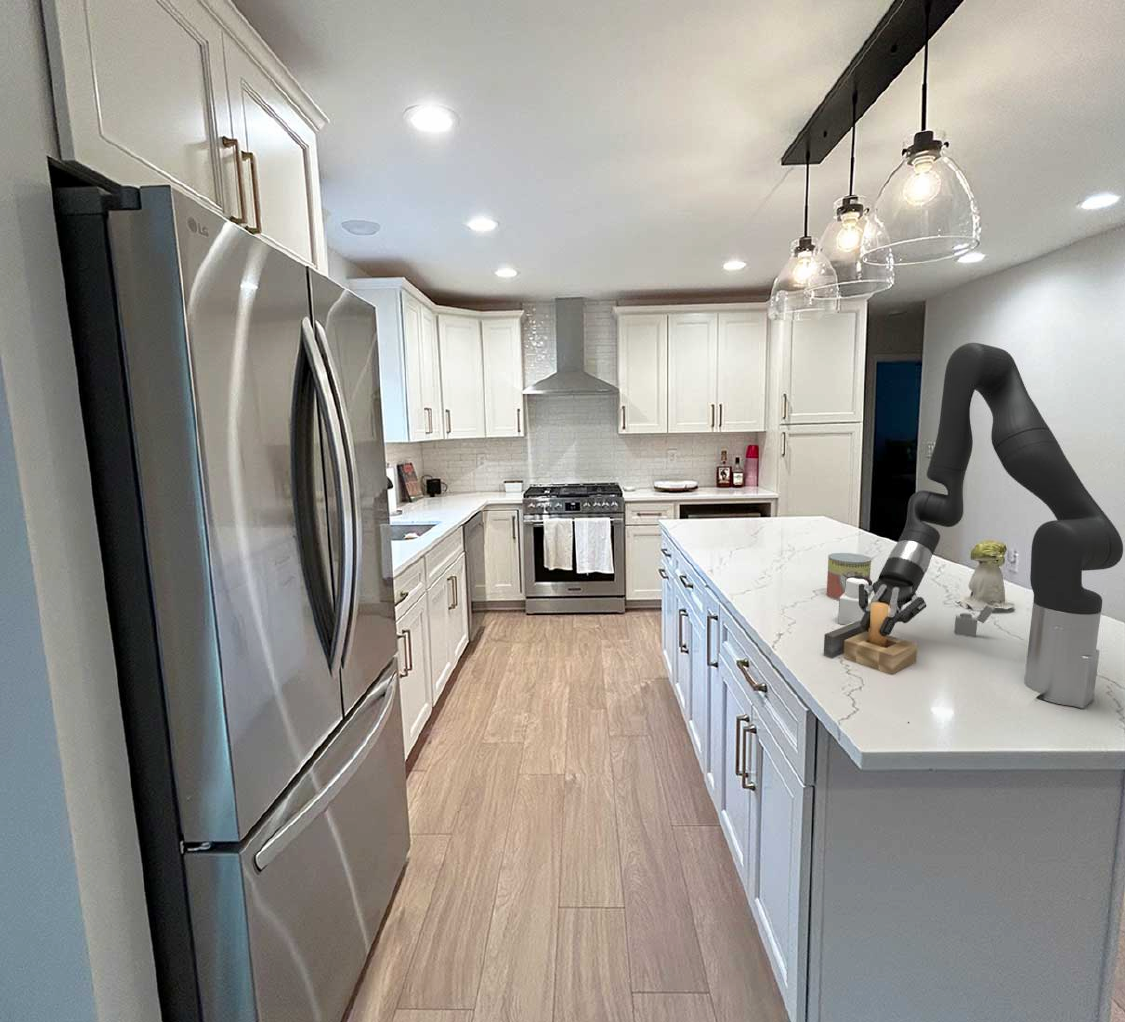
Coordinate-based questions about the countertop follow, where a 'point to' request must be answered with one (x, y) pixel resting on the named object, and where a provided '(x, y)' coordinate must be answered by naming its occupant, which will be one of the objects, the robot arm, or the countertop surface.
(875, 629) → the dowel
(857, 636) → the socket block
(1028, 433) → the robot arm
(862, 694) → the countertop surface
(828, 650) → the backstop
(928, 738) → the countertop surface
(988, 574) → the mushroom
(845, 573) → the canned food
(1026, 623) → the countertop surface
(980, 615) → the lighter
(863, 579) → the medicine bottle
